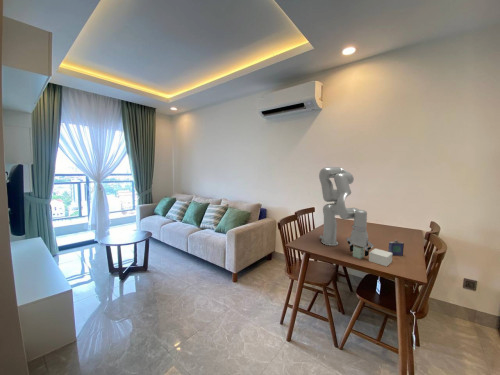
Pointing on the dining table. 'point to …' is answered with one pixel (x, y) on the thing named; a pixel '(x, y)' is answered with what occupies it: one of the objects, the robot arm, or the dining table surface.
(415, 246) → the dining table surface
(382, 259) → the cream box
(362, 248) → the open sage green box
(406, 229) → the dining table surface
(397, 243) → the flask
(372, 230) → the dining table surface
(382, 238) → the dining table surface
